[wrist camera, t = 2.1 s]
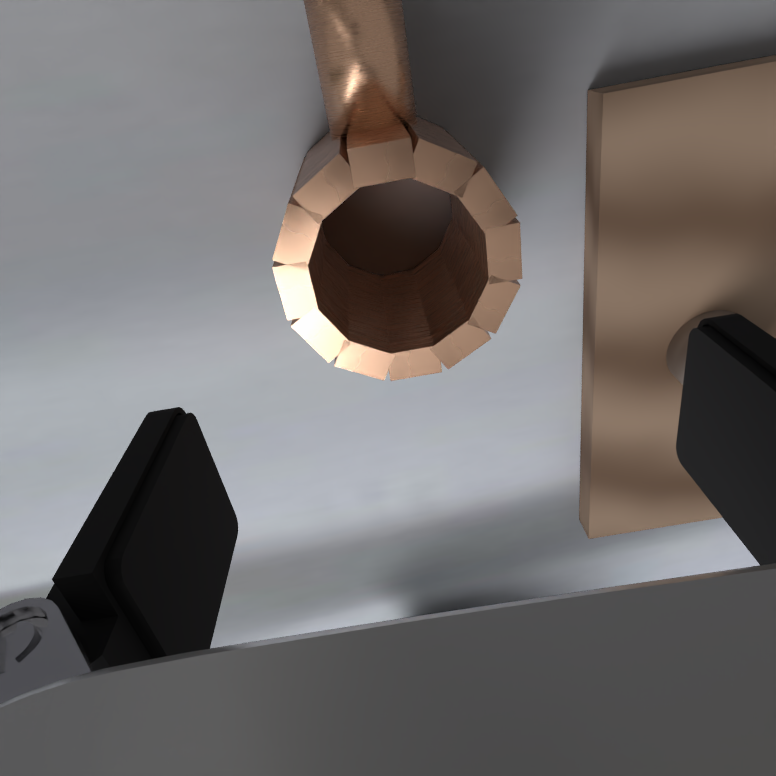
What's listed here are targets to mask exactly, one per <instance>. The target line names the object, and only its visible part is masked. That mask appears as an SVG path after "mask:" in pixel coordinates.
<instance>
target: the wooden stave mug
mask: <svg viewBox="0 0 776 776" xmlns="http://www.w3.org/2000/svg"><path fill="white" fill-rule="evenodd" d="M304 4H305V9H306V14H307V19H308V24H309V29H310V34H311V39H312V44H313V49H314V54H315V59H316V64H317V69H318V74H319V79H320V84H321V89H322V94H323V99H324V104H325V109H326V114H327V119H328V124H329V128H330V131H329V132H328V133H327V134H326V135H325V136H324V137H323V138H322V139H321V140H320V141H319V142H318V143H317V144H316V145H315V146H313V147H312V148H311V149H310V150H309V151H308V152H307V155H306V157H304V160H303V163H302V166H301V169H300V171H299V174H298V177H297V180H296V183H295V186H294V188H293V191H292V194H291V197H290V200H289V202H288V206H287V209H286V213H285V217H284V220H283V224H282V227H281V231H280V234H279V238H278V241H277V245H276V249H275V252H274V256H273V259H272V260H274V264H273V267H272V268H273V271H274V275H275V278H276V282H277V286H278V289H279V293H280V296H281V300H282V303H283V307H284V310H285V314H286V317H287V320H292V323H291V327H292V328H293V329H294V330H295V331H296V332H297V333H298V334H300V335H301V336H302V337H303V338H304V339H305V340H306V341H307V342H308V343H309V344H310V345H311V346H312V347H313V348H314V349H315V350H316V351H317V352H318V353H319V354H320V355H321V356H322V357H323V358H324V359H325V360H326V361H327V362H328V363H329V362H330V361H331V360H333V359H334V358H335V365H334V366H336V367H339V368H343V369H346V370H350V371H353V372H356V373H360V374H363V375H367V376H370V377H374V378H377V379H380V380H385V377H386V375H387V373H388V370H389V374H390V380H391V381H393V380H399V379H405V378H411V377H416V376H422V375H428V374H434V373H440V372H442V369H441V362H442V363H443V364H444V365H445V366H446V368H447V369H450V368H451V367H452V366H454V365H455V364H457V363H458V362H459V361H461V360H462V359H464V358H465V357H466V356H468V355H469V354H471V353H472V352H473V351H475V350H476V349H478V348H479V347H480V346H482V345H483V344H485V343H486V342H487V341H489V340H490V339H491V337H490V335H489V333H488V331H490V332H493V333H496V332H497V330H498V328H499V326H500V324H501V322H502V321H503V319H504V317H505V315H506V313H507V311H508V309H509V307H510V305H511V303H512V301H513V299H514V297H515V295H516V293H517V292H518V290H519V288H520V286H521V285H520V284H519V283H518V281H517V279H522V262H521V238H520V222H519V221H518V220H517V219H516V218H515V217H516V216H518V215H517V214H516V213H515V211H514V210H513V208H512V207H511V205H510V204H509V202H508V201H507V200H506V198H505V197H504V195H503V194H502V192H501V191H500V189H499V188H498V187H497V185H496V184H495V182H494V181H493V179H492V178H491V176H490V175H489V174H488V172H487V171H486V169H485V168H484V167H483V166H482V165H481V164H480V163H479V162H478V161H477V160H476V159H475V158H474V157H473V156H472V155H471V154H470V153H469V152H468V151H467V150H466V149H465V148H464V147H463V146H461V145H460V144H459V143H458V142H457V141H456V140H455V139H454V138H453V137H452V136H451V135H450V134H449V133H448V132H447V131H445V130H444V129H443V128H442V127H440V126H438V125H436V124H433V123H431V122H428V121H426V120H423V119H421V118H419V117H416V110H415V102H414V94H413V87H412V79H411V71H410V63H409V55H408V47H407V39H406V31H405V23H404V15H403V7H402V0H304ZM408 178H412V179H414V180H417V181H420V182H422V183H425V184H427V185H430V186H433V187H435V188H438V189H440V190H443V191H446V192H448V193H450V200H451V209H452V219H451V221H450V223H449V226H448V228H447V230H446V233H445V235H444V237H443V240H442V242H441V244H440V247H439V249H438V250H436V251H435V252H434V253H433V254H431V255H430V256H429V257H428V258H426V259H425V260H424V261H423V262H421V263H420V264H419V265H418V266H416V267H415V268H414V269H413V270H408V271H403V272H397V273H391V274H386V275H377V274H374V273H371V272H368V271H365V270H362V269H359V268H356V267H353V266H350V265H348V264H347V263H346V262H345V261H344V259H343V258H342V257H341V256H340V255H339V254H338V253H337V252H336V251H335V249H334V248H333V247H332V246H331V245H330V244H329V243H328V242H327V241H326V238H325V234H324V229H323V225H322V220H323V219H324V218H326V217H327V216H328V215H329V214H330V213H331V212H332V211H334V210H335V209H336V208H337V207H338V206H339V205H340V204H341V203H343V202H344V201H345V200H346V199H347V198H348V197H349V196H351V195H352V194H353V193H354V192H355V191H356V190H357V189H359V188H360V187H365V186H370V185H375V184H381V183H386V182H392V181H397V180H402V179H408Z"/></svg>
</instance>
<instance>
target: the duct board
mask: <svg viewBox="0 0 776 776" xmlns="http://www.w3.org/2000/svg"><path fill="white" fill-rule="evenodd" d="M736 313H737V314H740V315H742V316H743V317H745V318H746V319H748V320H749V321H751V322H752V323H754V324H755V325H757V326H758V327H759V328H761V329H762V330H764V331H765V332H767V333H768V334H770V335H771V336H773V337H774V338H776V55H772V56H767V57H761V58H756V59H751V60H745V61H740V62H735V63H729V64H724V65H719V66H713V67H708V68H703V69H697V70H692V71H687V72H682V73H676V74H671V75H666V76H660V77H655V78H650V79H644V80H639V81H634V82H628V83H623V84H618V85H612V86H607V87H602V88H597V89H591V90H588V99H587V150H586V201H585V252H584V303H583V354H582V405H581V456H580V506H579V520H580V522H581V524H582V526H583V528H584V530H585V532H586V534H587V536H588V538H589V539H591V538H597V537H604V536H610V535H616V534H622V533H628V532H635V531H641V530H647V529H653V528H659V527H666V526H672V525H678V524H684V523H690V522H697V521H703V520H709V519H715V518H721V517H722V516H721V514H720V513H719V512H718V511H717V509H716V508H715V507H714V506H713V504H712V503H711V502H710V500H709V499H708V498H707V497H706V495H705V494H704V493H703V492H702V490H701V489H700V488H699V487H698V485H697V484H696V483H695V481H694V480H693V479H692V478H691V476H690V475H689V474H688V473H687V471H686V470H685V469H684V467H683V466H682V465H681V463H680V461H679V459H678V456H677V452H676V440H677V432H678V423H679V415H680V406H681V398H682V389H683V380H684V372H685V363H686V355H687V346H688V338H689V333H690V332H691V330H692V329H693V328H697V327H698V325H699V323H700V321H701V320H703V319H705V318H711V317H717V316H723V315H729V314H736Z"/></svg>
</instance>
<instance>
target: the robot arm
mask: <svg viewBox="0 0 776 776" xmlns="http://www.w3.org/2000/svg"><path fill="white" fill-rule="evenodd" d="M676 452H677V456H678V459H679V461H680V463H681V465H682V466H683V467H684V469H685V470H686V471H687V473H688V474H689V475H690V476H691V478H692V479H693V480H694V481H695V483H696V484H697V485H698V487H699V488H700V489H701V490H702V492H703V493H704V494H705V495H706V497H707V498H708V499H709V500H710V502H711V503H712V504H713V506H714V507H715V508H716V509H717V511H718V512H719V513H720V514H721V516H722V517H723V518H724V520H725V521H726V522H727V523H728V525H729V526H730V527H731V528H732V530H733V531H734V532H735V534H736V535H737V536H738V537H739V539H740V540H741V541H742V542H743V544H744V545H745V546H746V548H747V549H748V550H749V551H750V553H751V554H752V555H753V556H754V558H755V559H756V560H757V562H758V563H759V564H760V566H753V567H746V568H739V569H733V570H726V571H719V572H712V573H705V574H698V575H691V576H684V577H677V578H670V579H663V580H656V581H649V582H642V583H636V584H629V585H622V586H615V587H608V588H601V589H594V590H588V591H581V592H574V593H568V594H561V595H554V596H547V597H541V598H534V599H527V600H521V601H514V602H507V603H501V604H494V605H487V606H481V607H474V608H467V609H461V610H454V611H448V612H441V613H434V614H428V615H421V616H414V617H408V618H401V619H395V620H389V621H382V622H376V623H369V624H363V625H356V626H350V627H344V628H337V629H331V630H324V631H318V632H312V633H305V634H299V635H292V636H286V637H279V638H273V639H267V640H260V641H254V642H248V643H242V644H235V645H229V646H223V647H217V648H211V649H210V645H211V641H212V637H213V633H214V629H215V625H216V621H217V617H218V613H219V609H220V604H221V600H222V596H223V592H224V588H225V584H226V580H227V576H228V572H229V568H230V564H231V560H232V555H233V551H234V547H235V543H236V539H237V535H238V522H237V517H236V514H235V512H234V510H233V507H232V505H231V502H230V500H229V497H228V495H227V492H226V490H225V487H224V485H223V483H222V480H221V478H220V475H219V473H218V470H217V468H216V465H215V463H214V461H213V458H212V456H211V453H210V451H209V448H208V446H207V443H206V441H205V438H204V436H203V434H202V431H201V429H200V426H199V424H198V421H197V419H196V417H195V416H194V414H192V413H187V414H186V413H185V411H184V410H183V409H182V408H180V407H177V408H171V409H165V410H159V411H154V412H149V413H148V414H147V415H146V417H145V418H144V420H143V422H142V424H141V425H140V427H139V429H138V431H137V432H136V434H135V436H134V438H133V439H132V441H131V443H130V445H129V446H128V448H127V450H126V452H125V453H124V455H123V457H122V458H121V460H120V462H119V464H118V465H117V467H116V469H115V471H114V472H113V474H112V476H111V478H110V479H109V481H108V483H107V485H106V486H105V488H104V490H103V491H102V493H101V495H100V497H99V498H98V500H97V502H96V504H95V505H94V507H93V509H92V511H91V512H90V514H89V516H88V518H87V519H86V521H85V523H84V524H83V526H82V528H81V530H80V531H79V533H78V535H77V537H76V538H75V540H74V542H73V544H72V545H71V547H70V549H69V551H68V552H67V554H66V556H65V557H64V559H63V561H62V563H61V564H60V566H59V568H58V570H57V571H56V573H55V575H54V577H53V578H52V580H53V582H54V583H55V584H54V585H53V587H52V589H51V591H50V592H49V594H48V596H47V598H46V599H45V598H41V597H40V598H28V599H24V600H21V601H18V602H15V603H11V604H9V605H7V606H5V607H3V608H1V609H0V776H776V338H774V337H773V336H771V335H770V334H768V333H767V332H765V331H764V330H762V329H761V328H759V327H758V326H757V325H755V324H754V323H752V322H751V321H749V320H748V319H746V318H745V317H743V316H742V315H740V314H737V313H736V314H729V315H723V316H717V317H711V318H705V319H703V320H701V321H700V323H699V325H698V327H697V328H693V329H692V330H691V332H690V333H689V338H688V346H687V355H686V363H685V372H684V380H683V389H682V398H681V406H680V415H679V423H678V432H677V440H676Z"/></svg>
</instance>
